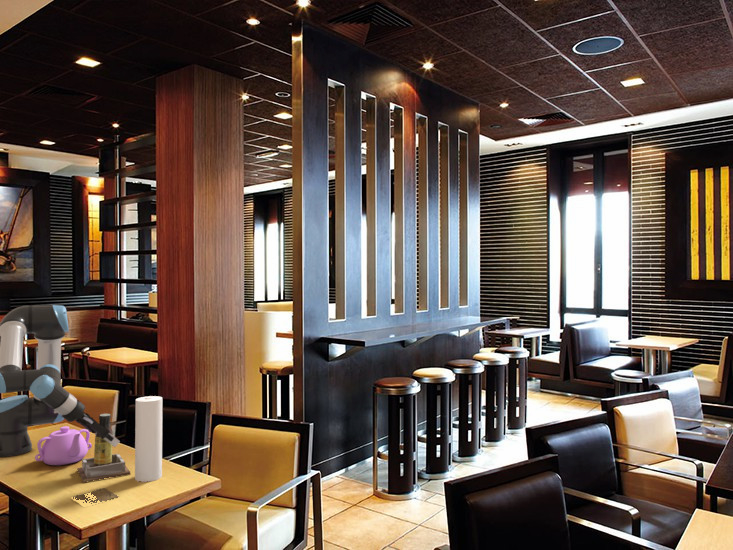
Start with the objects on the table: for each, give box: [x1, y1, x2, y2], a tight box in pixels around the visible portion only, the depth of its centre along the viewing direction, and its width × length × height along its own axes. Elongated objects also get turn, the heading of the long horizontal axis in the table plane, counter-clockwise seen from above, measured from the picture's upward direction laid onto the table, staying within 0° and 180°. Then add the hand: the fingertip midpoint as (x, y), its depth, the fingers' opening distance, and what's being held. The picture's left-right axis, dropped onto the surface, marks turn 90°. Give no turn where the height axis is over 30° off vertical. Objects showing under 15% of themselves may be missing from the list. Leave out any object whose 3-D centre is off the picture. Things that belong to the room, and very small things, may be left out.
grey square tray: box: [76, 453, 131, 483], centre depth 213 cm, size 16×16×4 cm
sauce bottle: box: [93, 413, 114, 467], centre depth 213 cm, size 6×6×20 cm
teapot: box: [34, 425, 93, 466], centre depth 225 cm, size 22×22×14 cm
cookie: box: [72, 487, 120, 504], centre depth 188 cm, size 12×12×1 cm
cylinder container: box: [134, 395, 163, 483], centre depth 208 cm, size 9×9×30 cm
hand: (113, 442), depth 216 cm, fingers closed on sauce bottle, 6 cm apart
